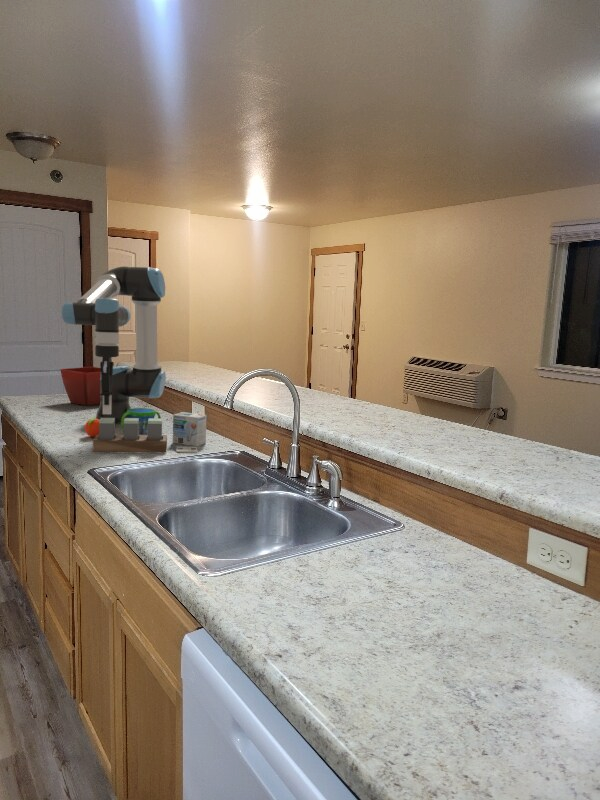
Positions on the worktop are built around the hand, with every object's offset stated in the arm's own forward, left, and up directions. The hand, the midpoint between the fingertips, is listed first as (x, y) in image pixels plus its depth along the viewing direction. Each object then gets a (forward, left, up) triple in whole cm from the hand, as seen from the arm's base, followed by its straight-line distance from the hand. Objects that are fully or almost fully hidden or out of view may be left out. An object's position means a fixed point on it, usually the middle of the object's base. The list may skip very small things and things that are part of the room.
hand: (107, 413), depth 205 cm
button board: (0, +8, -12) cm, 15 cm away
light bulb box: (-10, +28, -13) cm, 32 cm away
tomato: (-19, -7, -13) cm, 24 cm away
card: (+2, +27, -12) cm, 30 cm away
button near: (0, 0, -9) cm, 9 cm away
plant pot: (-96, -20, -13) cm, 99 cm away
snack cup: (-21, +10, -13) cm, 26 cm away
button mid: (0, +8, -9) cm, 12 cm away
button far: (0, +16, -9) cm, 18 cm away
